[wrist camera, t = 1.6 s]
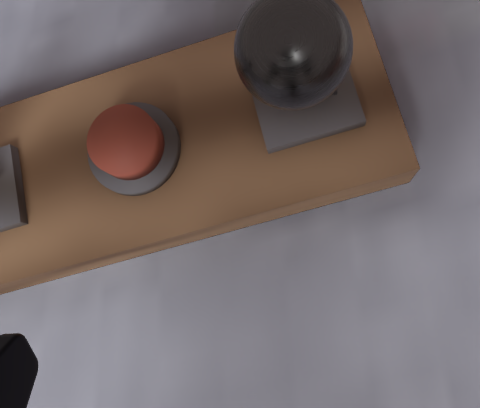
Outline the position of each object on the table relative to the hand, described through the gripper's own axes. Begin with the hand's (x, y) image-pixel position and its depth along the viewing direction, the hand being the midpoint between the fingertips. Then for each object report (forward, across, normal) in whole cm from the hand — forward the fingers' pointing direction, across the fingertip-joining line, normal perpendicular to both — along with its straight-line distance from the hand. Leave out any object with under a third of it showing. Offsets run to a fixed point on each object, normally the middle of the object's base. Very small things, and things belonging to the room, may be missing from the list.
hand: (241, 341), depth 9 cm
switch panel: (+15, +7, +3) cm, 17 cm away
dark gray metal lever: (+13, -2, -1) cm, 13 cm away
